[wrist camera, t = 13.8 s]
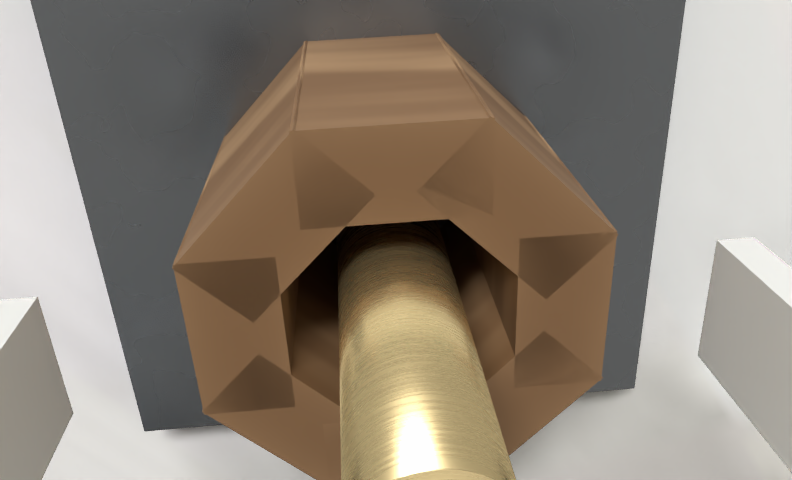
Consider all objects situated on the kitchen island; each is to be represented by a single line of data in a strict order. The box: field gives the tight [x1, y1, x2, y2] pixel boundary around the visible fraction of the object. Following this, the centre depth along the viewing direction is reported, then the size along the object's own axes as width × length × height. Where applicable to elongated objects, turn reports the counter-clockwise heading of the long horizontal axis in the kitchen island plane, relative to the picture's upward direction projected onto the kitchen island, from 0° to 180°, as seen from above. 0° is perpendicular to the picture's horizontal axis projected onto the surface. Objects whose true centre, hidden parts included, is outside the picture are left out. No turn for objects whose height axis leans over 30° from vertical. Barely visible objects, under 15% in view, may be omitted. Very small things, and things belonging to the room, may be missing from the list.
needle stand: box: [30, 0, 686, 480], centre depth 15 cm, size 16×16×15 cm
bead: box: [172, 33, 618, 480], centre depth 17 cm, size 8×8×7 cm
